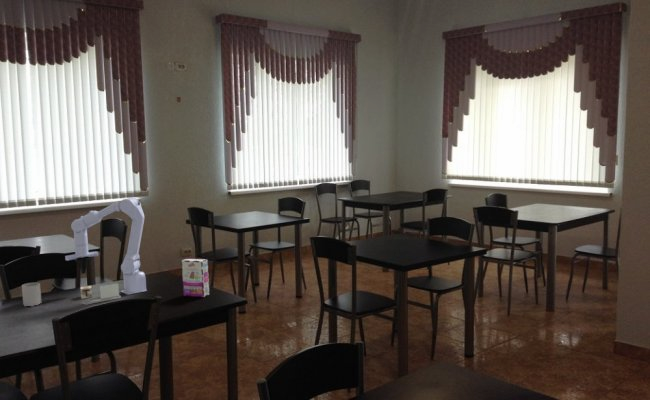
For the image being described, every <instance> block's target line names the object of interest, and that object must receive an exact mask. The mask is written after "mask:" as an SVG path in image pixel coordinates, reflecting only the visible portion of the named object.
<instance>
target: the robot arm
mask: <svg viewBox="0 0 650 400" xmlns="http://www.w3.org/2000/svg"><path fill="white" fill-rule="evenodd" d="M114 212H123V214H126V215H127V216H129V218H131V220H132V221H131V228H130V234H129V239H128V245H127V249H126V250H127V251H126V254H125V256H124V259H123V262H122V263H121V265H120V270H121V272H122V276H123V278H122V279H123V290H120V292H121V293H123V294H125V295H132V294H138V293H142V292H148V290H147V280H146V279H147V278H146V274H145V272H144V271H140V270H139V269H140V267H141V261H140V254H139V252H140V249H141V248H140V246H141V241H142V235H143V229H144V223H145V217H146V216H145V214H144V210H143V208H142V203H141V201H139V199H138V198H136V197H134V196H131V197H128V198H124V199H122V200H118V201H115V202H113V203H111V204H109V205H108V206H107V207H105V208H102V209H100V210H99V211H97V210H89V212H88V213H87V214H85V215H81V216H80V217H79V218H78V219H74V220H73V221H72V223H71V224H70V227H71V230H72V231H73V240H74V254H69V255H65V256H64V257H65V258H64V259H65V261H72V260H74V261H75V263H76V264H77V265H78V268H79V270H80V273H81V274H82V275H84V274H86V273H87V272H86V271H87V267H88V264H89V262H90V259H91V258H90V257H99V252H98V251H96V250H95V251H89V242H88V241H89V239H88V229H89V228H91V227H93V226H94V225H96V224H99V223H100V222H101V221H102V219H103V218H104V217H106V216H108V215H110V214H112V213H114Z"/></svg>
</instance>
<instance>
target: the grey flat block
mask: <svg viewBox="0 0 650 400" xmlns="http://www.w3.org/2000/svg"><path fill="white" fill-rule="evenodd" d="M119 295H120V289H119V283H118V282H117V283H111V284H107V285H106V284H105V285H100V286H99V296H100V297H99V299H106V298H111V297H116V296H119Z"/></svg>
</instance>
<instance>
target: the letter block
mask: <svg viewBox="0 0 650 400" xmlns="http://www.w3.org/2000/svg"><path fill="white" fill-rule="evenodd" d="M92 291H93V290H92V285H86V286H80V298H81V300H83V299H91V298H93V292H92Z"/></svg>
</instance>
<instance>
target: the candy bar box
mask: <svg viewBox="0 0 650 400" xmlns="http://www.w3.org/2000/svg"><path fill="white" fill-rule="evenodd" d="M181 272H182V273H181V274H182V291H183V297H198V298H205V297H208V296H209V295H210V282H209V281H210V279H209V262H208V259H207V258H206V259H204V258H185V259H182V260H181Z"/></svg>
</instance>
